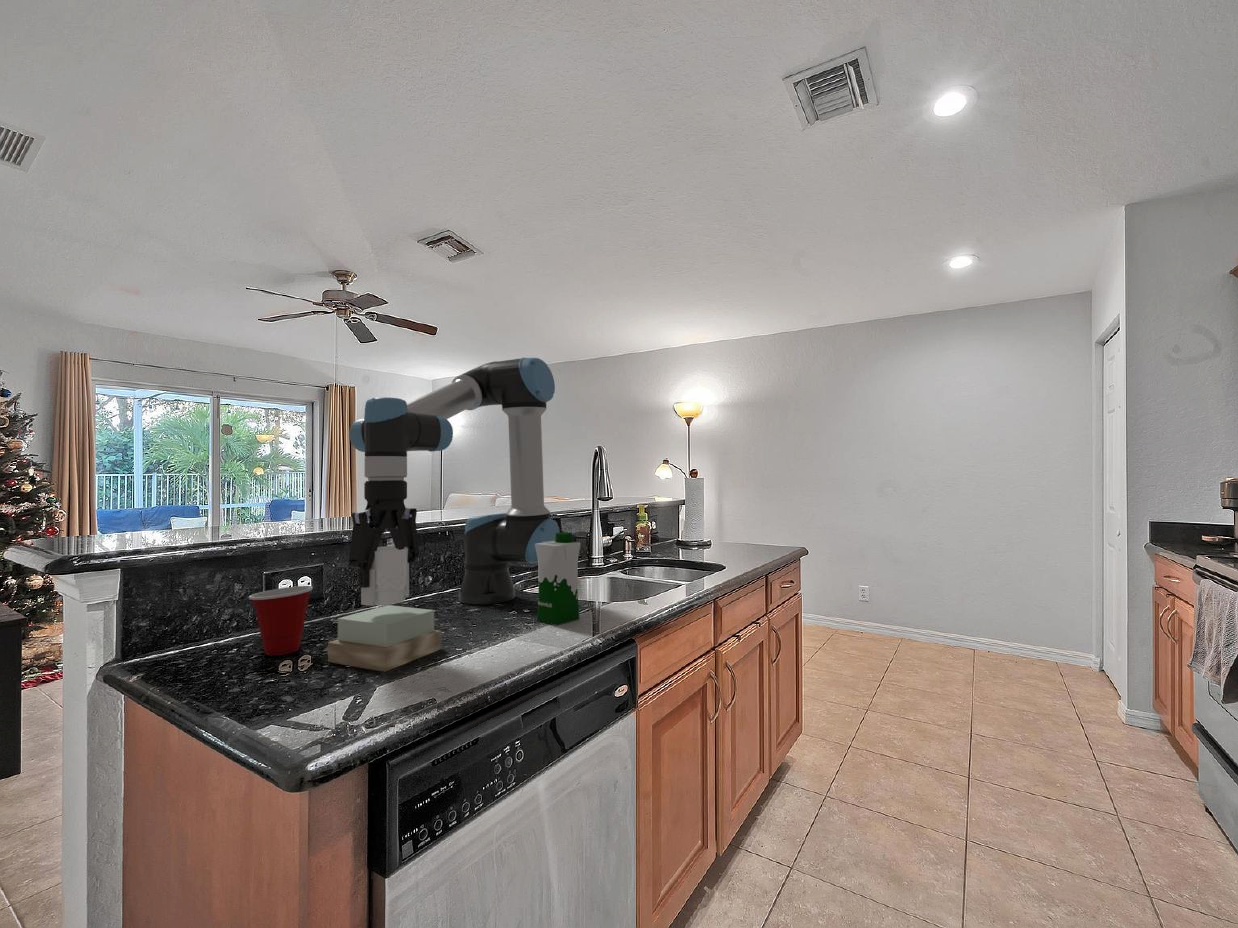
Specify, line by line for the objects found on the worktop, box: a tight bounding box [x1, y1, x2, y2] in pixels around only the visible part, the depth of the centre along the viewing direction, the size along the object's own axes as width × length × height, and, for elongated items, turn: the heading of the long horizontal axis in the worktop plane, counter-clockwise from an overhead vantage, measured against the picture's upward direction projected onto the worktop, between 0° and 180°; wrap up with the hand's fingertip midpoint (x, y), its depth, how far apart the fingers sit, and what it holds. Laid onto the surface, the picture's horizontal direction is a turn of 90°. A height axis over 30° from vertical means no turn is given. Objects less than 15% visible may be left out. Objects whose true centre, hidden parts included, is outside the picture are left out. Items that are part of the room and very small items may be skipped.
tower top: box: [337, 604, 435, 648], centre depth 108 cm, size 12×12×4 cm
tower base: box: [327, 629, 442, 673], centre depth 107 cm, size 14×14×4 cm
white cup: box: [365, 545, 408, 606], centre depth 107 cm, size 8×8×10 cm
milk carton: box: [535, 532, 581, 626], centre depth 132 cm, size 9×9×20 cm
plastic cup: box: [248, 585, 313, 657], centre depth 110 cm, size 11×11×12 cm
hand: (385, 600), depth 107 cm, fingers closed on white cup, 7 cm apart
